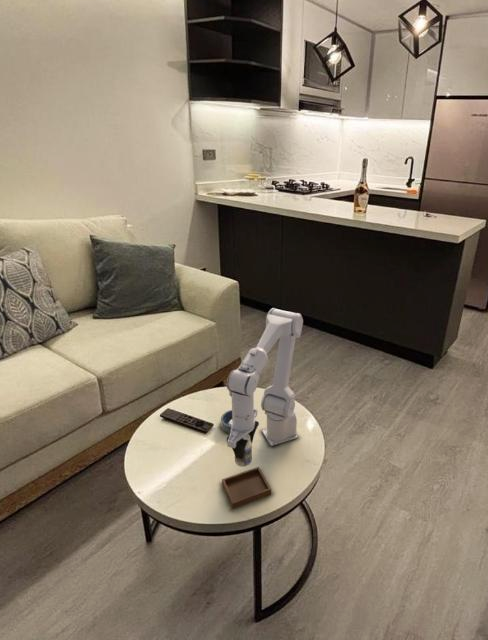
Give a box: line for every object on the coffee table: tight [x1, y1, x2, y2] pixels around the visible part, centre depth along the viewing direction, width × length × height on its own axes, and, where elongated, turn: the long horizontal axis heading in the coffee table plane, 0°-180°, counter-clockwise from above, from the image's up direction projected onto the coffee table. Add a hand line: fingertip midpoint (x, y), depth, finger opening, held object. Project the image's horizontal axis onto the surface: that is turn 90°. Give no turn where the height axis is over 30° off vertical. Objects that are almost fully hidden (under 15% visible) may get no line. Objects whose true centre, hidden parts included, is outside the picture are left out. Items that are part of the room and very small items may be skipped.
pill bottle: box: [234, 434, 253, 468], centre depth 113 cm, size 5×5×8 cm
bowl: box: [220, 409, 232, 434], centre depth 139 cm, size 9×9×3 cm
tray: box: [221, 466, 272, 510], centre depth 114 cm, size 11×9×2 cm
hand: (243, 451), depth 114 cm, fingers closed on pill bottle, 5 cm apart
